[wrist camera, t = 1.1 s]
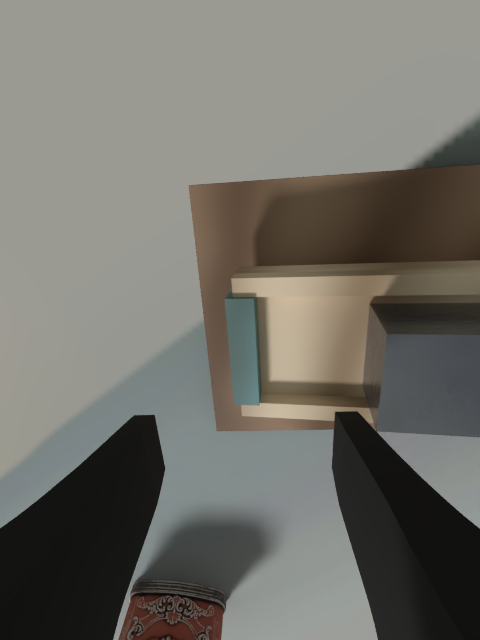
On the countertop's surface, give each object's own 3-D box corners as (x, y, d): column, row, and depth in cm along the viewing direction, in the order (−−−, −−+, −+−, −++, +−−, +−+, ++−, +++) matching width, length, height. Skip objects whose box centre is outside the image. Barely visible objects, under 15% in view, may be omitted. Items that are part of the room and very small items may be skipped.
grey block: (506, 302, 13) (562, 335, 10) (484, 390, 14) (528, 439, 12) (369, 303, 14) (387, 334, 11) (362, 386, 15) (376, 431, 12)
